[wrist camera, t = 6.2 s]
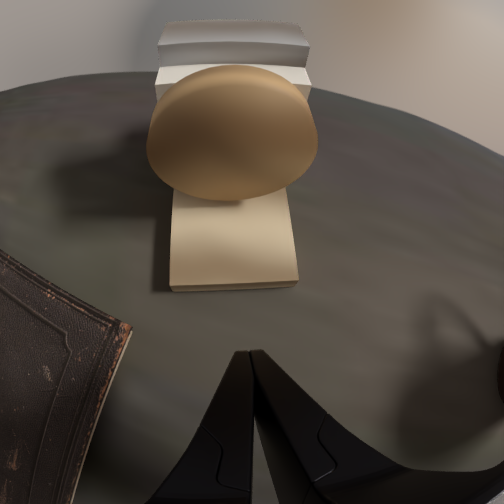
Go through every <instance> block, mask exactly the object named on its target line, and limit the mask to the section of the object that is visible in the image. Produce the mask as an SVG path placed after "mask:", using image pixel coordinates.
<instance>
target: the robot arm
mask: <svg viewBox="0 0 504 504" xmlns="http://www.w3.org/2000/svg"><path fill="white" fill-rule="evenodd" d="M254 417H255V421H256V425H257V429H258V433H259V436H260V440H261V443H262V447H263V450H264V454H265V457H266V461H267V464H268V468H269V471H270V474H271V478H272V481H273V484H274V488H275V491H276V494H277V497H278V501H279V504H504V461H502V462H501V463H500V464H498V465H497V466H495V467H493V468H490V469H487V470H483V471H475V472H445V471H426V470H415V469H410V468H407V467H404V466H402V465H399V464H397V463H396V462H394V461H392V460H391V459H389V458H387V457H386V456H384V455H383V454H381V453H380V452H378V451H377V450H375V449H374V448H372V447H370V446H369V445H367V444H366V443H364V442H363V441H362V440H360V439H359V438H357V437H356V436H355V435H353V434H352V433H351V432H349V431H348V430H347V429H345V428H344V427H343V426H342V425H341V424H340V423H338V422H337V421H336V420H335V419H334V418H333V417H332V416H331V415H330V414H327V412H326V411H325V410H324V409H323V408H322V407H321V406H320V405H319V404H318V403H317V402H316V401H315V400H313V399H312V398H311V397H310V396H309V395H308V394H307V393H306V392H305V391H304V390H303V389H302V388H301V387H300V386H299V385H298V384H297V383H296V382H295V381H294V380H293V379H292V378H291V377H290V376H289V375H288V374H287V373H286V372H285V371H284V370H283V369H282V368H281V367H280V366H279V365H278V364H277V363H276V362H275V361H274V360H273V359H272V358H271V357H270V356H269V355H268V354H267V353H266V352H265V351H264V350H261V349H260V350H250V351H249V352H248V351H247V350H245V351H236V352H235V353H234V355H233V357H232V359H231V361H230V363H229V365H228V367H227V369H226V371H225V374H224V376H223V378H222V380H221V382H220V384H219V386H218V388H217V390H216V392H215V394H214V396H213V399H212V401H211V403H210V405H209V407H208V409H207V411H206V413H205V415H204V417H203V419H202V421H201V423H200V426H199V427H198V429H197V431H196V433H195V435H194V437H193V439H192V440H191V442H190V444H189V446H188V448H187V449H186V451H185V452H184V454H183V455H182V457H181V458H180V460H179V461H178V463H177V464H176V465H175V467H174V468H173V469H172V471H171V472H170V473H169V475H168V476H167V477H166V479H165V480H164V481H163V483H162V484H161V485H160V487H159V488H158V489H157V490H156V492H155V493H154V494H153V495H152V497H151V498H150V499H149V500H148V501H147V502H146V503H145V504H252V483H253V442H254Z"/></svg>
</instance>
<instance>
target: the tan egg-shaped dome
mask: <svg viewBox="0 0 504 504" xmlns="http://www.w3.org/2000/svg"><path fill="white" fill-rule="evenodd" d="M317 149H318V135H317V131H316V128H315V124H314V121H313V118H312V115H311V112H310V109H309V106H308V103H307V101H306V99H305V98H304V96H303V95H302V93H301V92H300V91H299V90H298V89H297V88H296V87H295V86H294V85H293V84H292V83H291V82H289V81H288V80H286V79H285V78H283V77H282V76H280V75H278V74H276V73H273V72H271V71H268V70H265V69H262V68H258V67H253V66H247V65H221V66H216V67H210V68H206V69H203V70H200V71H197V72H195V73H192V74H190V75H188V76H186V77H184V78H183V79H181V80H179V81H178V82H176V83H175V84H174V85H173V86H171V87H170V88H169V89H168V90H167V91H166V92H165V93H164V94H163V95H162V97H161V98H160V100H159V101H158V103H157V104H156V107H155V109H154V111H153V115H152V119H151V123H150V128H149V133H148V138H147V143H146V152H147V158H148V161H149V163H150V166H151V167H152V169H153V170H154V172H155V173H156V174H157V175H158V177H159V178H160V179H162V180H163V181H164V182H165V183H166V184H168V185H169V186H171V187H173V188H174V189H176V190H178V191H180V192H183V193H185V194H188V195H191V196H194V197H199V198H203V199H210V200H221V201H231V200H243V199H250V198H255V197H260V196H263V195H267V194H270V193H273V192H275V191H277V190H280V189H282V188H284V187H286V186H287V185H289V184H291V183H292V182H294V181H295V180H297V179H298V178H299V177H300V176H301V175H303V173H304V172H305V171H306V170H307V169H308V168H309V166H310V165H311V164H312V162H313V160H314V158H315V156H316V152H317Z"/></svg>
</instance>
